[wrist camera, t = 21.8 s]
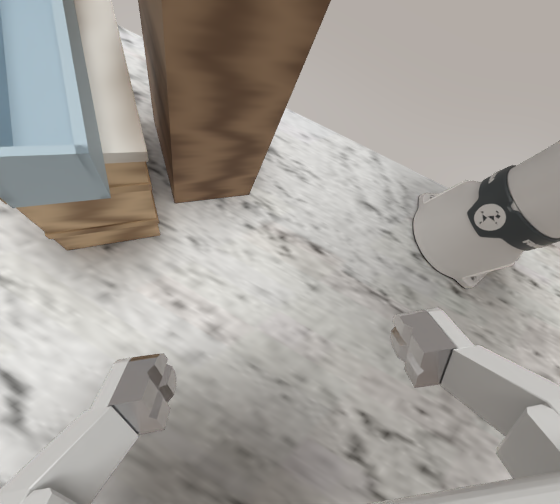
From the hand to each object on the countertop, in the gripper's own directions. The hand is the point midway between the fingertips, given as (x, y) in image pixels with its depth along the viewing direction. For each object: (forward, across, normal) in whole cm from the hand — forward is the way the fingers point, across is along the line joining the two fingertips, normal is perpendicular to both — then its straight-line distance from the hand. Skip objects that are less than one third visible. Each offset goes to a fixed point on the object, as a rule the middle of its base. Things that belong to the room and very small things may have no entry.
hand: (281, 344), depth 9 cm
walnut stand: (+32, +8, -1) cm, 33 cm away
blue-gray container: (+15, +12, -10) cm, 22 cm away
